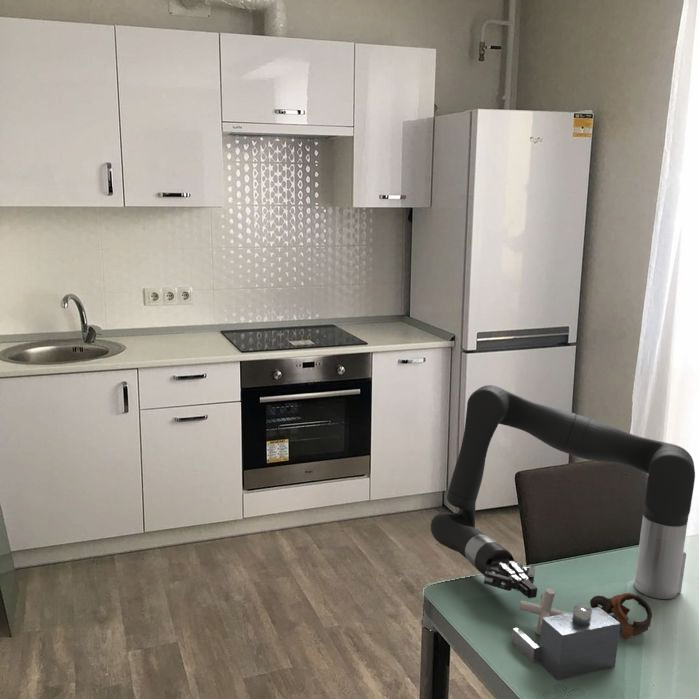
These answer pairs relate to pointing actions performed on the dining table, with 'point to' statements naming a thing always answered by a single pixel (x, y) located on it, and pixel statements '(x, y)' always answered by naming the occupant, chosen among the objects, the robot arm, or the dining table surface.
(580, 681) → the dining table surface
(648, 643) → the dining table surface
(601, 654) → the grey boxy knob-topped device
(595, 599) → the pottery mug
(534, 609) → the pipe connector
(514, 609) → the dining table surface
